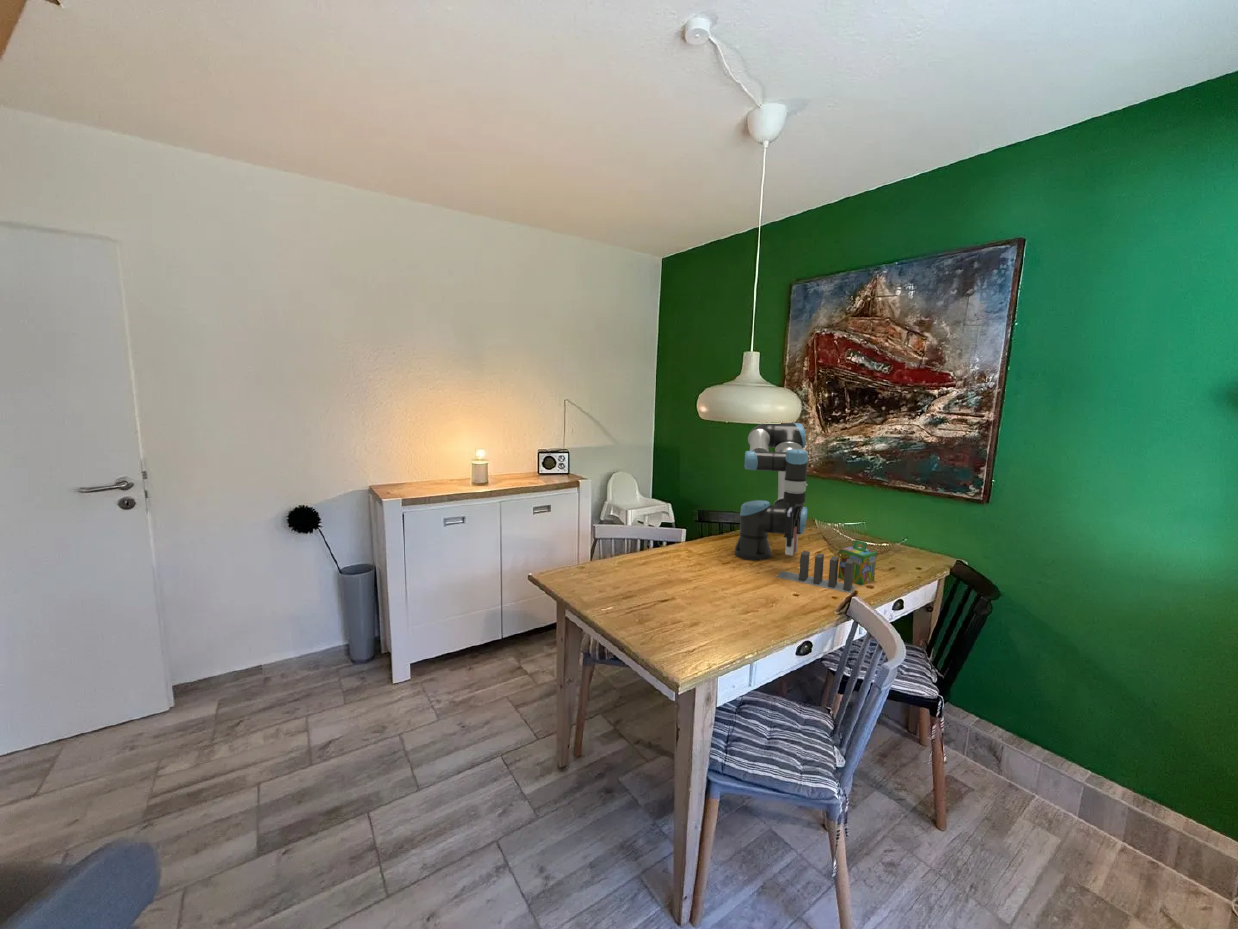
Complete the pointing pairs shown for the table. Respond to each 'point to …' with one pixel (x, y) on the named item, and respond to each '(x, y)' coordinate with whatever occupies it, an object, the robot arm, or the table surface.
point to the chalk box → (859, 563)
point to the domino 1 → (794, 539)
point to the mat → (810, 581)
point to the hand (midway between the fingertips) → (791, 552)
